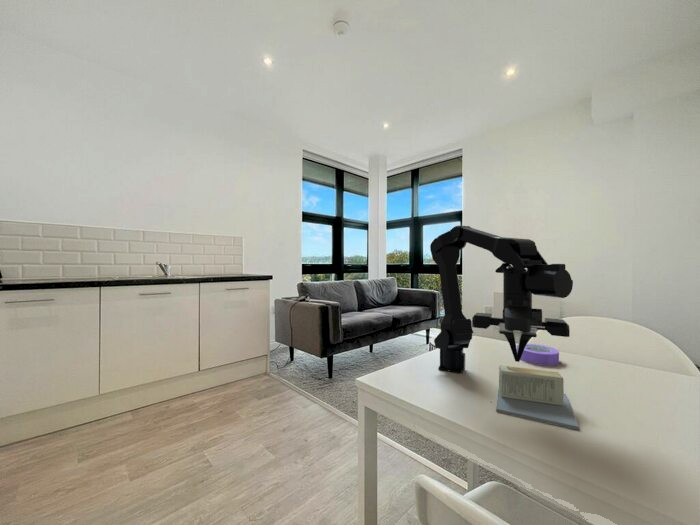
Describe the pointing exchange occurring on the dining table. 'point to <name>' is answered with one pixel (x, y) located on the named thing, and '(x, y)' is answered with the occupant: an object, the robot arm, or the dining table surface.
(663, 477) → the dining table surface
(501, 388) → the skincare box
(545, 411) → the mat
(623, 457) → the dining table surface
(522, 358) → the masking tape
